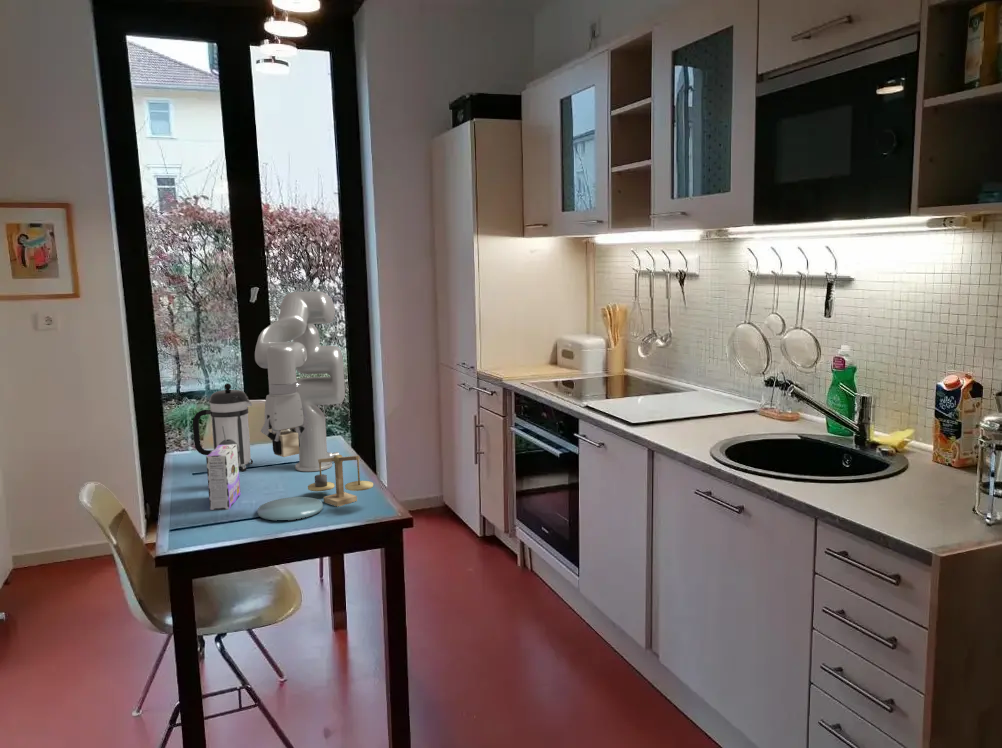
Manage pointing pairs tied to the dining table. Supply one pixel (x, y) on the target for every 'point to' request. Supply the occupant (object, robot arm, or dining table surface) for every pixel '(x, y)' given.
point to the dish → (290, 508)
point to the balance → (339, 482)
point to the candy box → (223, 477)
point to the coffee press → (227, 422)
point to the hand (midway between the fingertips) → (286, 451)
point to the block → (289, 443)
